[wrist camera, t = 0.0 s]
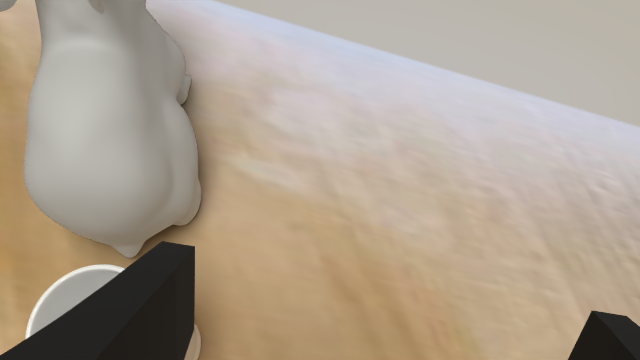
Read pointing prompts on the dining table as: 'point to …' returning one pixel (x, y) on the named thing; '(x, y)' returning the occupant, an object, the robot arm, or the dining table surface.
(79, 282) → the drinking glass
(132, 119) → the rabbit
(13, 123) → the dining table surface
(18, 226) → the dining table surface
